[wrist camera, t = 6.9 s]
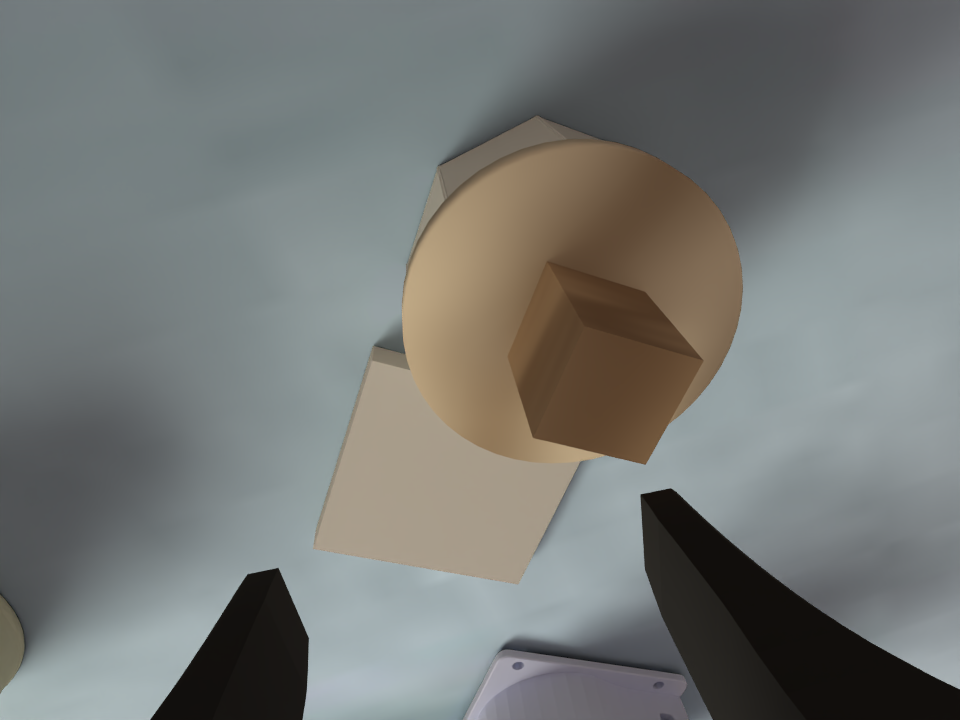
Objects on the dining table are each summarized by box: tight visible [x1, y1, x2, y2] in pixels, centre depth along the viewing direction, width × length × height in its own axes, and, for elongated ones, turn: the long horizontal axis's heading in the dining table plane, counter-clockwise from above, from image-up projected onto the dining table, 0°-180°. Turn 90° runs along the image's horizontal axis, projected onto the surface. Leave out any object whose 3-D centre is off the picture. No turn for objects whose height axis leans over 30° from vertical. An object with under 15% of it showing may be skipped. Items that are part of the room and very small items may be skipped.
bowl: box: [406, 116, 600, 272], centre depth 19 cm, size 8×8×4 cm
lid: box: [402, 139, 743, 465], centre depth 15 cm, size 8×8×4 cm
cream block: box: [313, 346, 580, 584], centre depth 24 cm, size 8×8×1 cm
